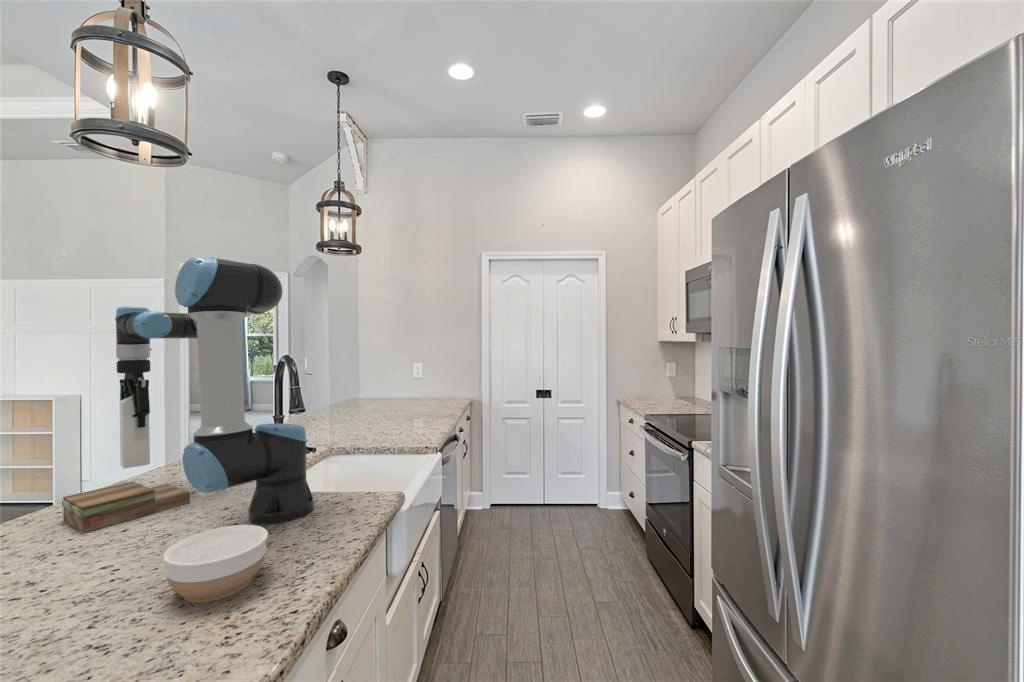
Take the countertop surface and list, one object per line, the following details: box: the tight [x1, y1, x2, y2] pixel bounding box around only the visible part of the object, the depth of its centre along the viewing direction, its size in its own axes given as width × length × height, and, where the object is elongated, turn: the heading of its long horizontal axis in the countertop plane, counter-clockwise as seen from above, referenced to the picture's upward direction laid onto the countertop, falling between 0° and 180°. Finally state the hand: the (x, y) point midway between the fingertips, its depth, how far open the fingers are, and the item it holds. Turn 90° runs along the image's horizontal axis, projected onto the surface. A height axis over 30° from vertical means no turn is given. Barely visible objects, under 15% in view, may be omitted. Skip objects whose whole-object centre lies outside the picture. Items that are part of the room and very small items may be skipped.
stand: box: [61, 481, 191, 534], centre depth 116 cm, size 14×22×6 cm, turn 149°
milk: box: [119, 390, 151, 469], centre depth 129 cm, size 6×6×22 cm
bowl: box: [163, 524, 269, 603], centre depth 81 cm, size 16×16×8 cm
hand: (134, 437), depth 129 cm, fingers closed on milk, 7 cm apart
